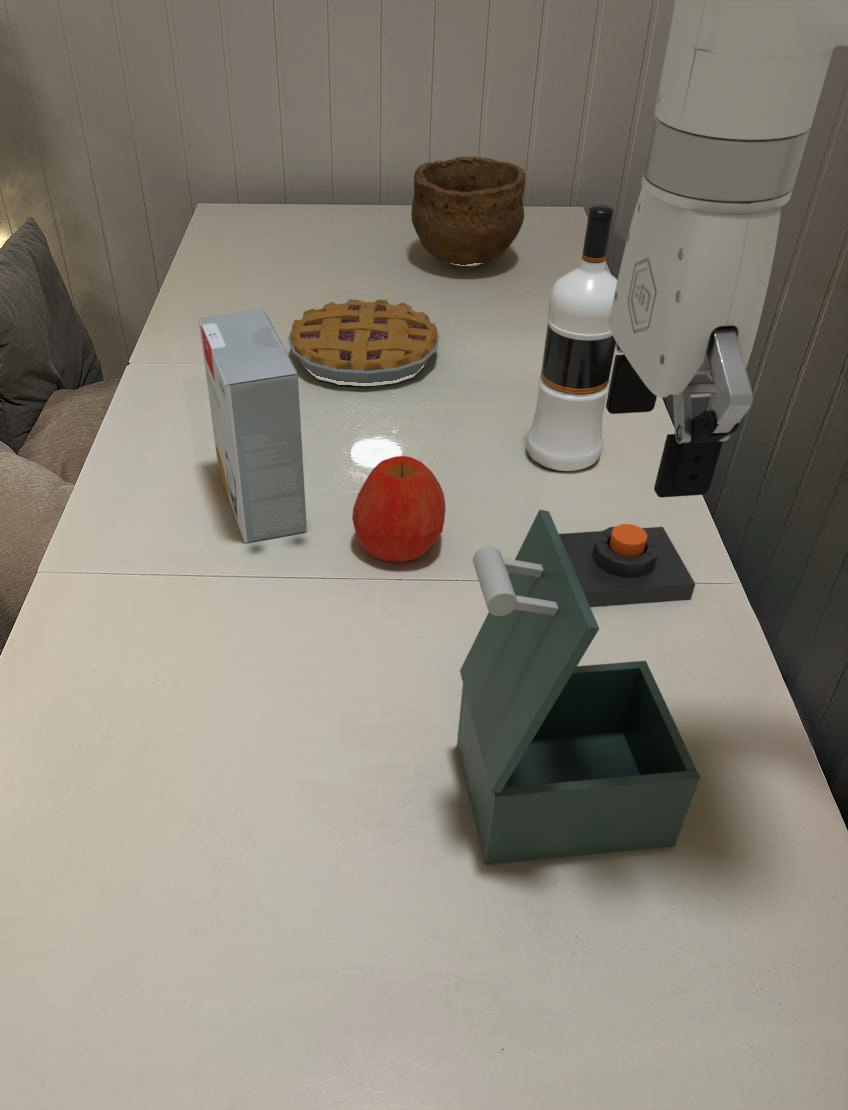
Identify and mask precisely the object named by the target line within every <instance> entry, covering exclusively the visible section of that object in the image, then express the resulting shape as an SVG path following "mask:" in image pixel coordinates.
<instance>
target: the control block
mask: <svg viewBox="0 0 848 1110" xmlns="http://www.w3.org/2000/svg"><path fill="white" fill-rule="evenodd" d="M615 527H616V526H609V527H607V528H605V529H604V530H603V529H602V530H596V531H595V530H594V531H581V532H580V531H579V532H566V533H559V536H560V538H561V540H562V543H563V545H564V547H565V550H566V552H567V554H568V557H569V559H570V561H571V564H572V566H573V568H574V571H575V573H576V575H577V578H578V580H579V582H580V585H581V587H582V589H583V592H584V594H585V596H586V599H587V601H588V603H589V606H590V608H601V607H611V606H612V607H613V606H627V605H638V604H639V605H640V604H654V603H666V602H676V601H677V602H680V601H691V600H692V597H693V594H694V590H695V587H696V583H695V580H694V578H693V577H692V575H691V573H690V572H689V570H688V568H687V566H686V565H685V563H684V561H683V559H682V558H681V555H680V554H679V552H678V551H677V549H676V547H675V545H674V543H673V542H672V539H671V538H670V537H669V535H668V533H667V532H666V529H665V528H664V526H653V527H652V526H651V527H641V528H642V529H643V530H644V531H645V532H646V533H647V541H646V545H645V549H644V552H643V553H642V554H641V555H640V556H638V557H625V556H621V555H617V554H616V553H614V552H613V551H611V549H610V547H609V543H610V539H611V534H612V530H613V529H614V528H615Z"/></svg>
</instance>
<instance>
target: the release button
mask: <svg viewBox="0 0 848 1110" xmlns="http://www.w3.org/2000/svg"><path fill="white" fill-rule="evenodd" d="M614 527H615V528H614V529H613V530H612V534H611V539H610V543H609V547H610V549H611V551H613V552H614V553H616V554H617V555H621V556H625V557H638V556H640V555H641V554H642V553H643V552H644V549H645V545H646V541H647V533H646V532H645V531H644V530H643V529H642V528H643V527H640V526H639V525H635V524H631V523H622V524H618V525H616V526H614Z"/></svg>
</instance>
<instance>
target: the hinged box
mask: <svg viewBox="0 0 848 1110" xmlns="http://www.w3.org/2000/svg"><path fill="white" fill-rule="evenodd" d="M457 729H458V730H457V740H456V747H457V752H458V756H459V760H460V765H461V769H462V772H463V776H464V781H465V783H466V784H465V785H466V788H467V793H468V798H469V803H470V806H471V810H472V814H473V818H474V824H475V827H476V831H477V835H478V841H479V845H480V849H481V853H482V857H483V862H484V865H493V864H506V863H515V862H526V861H537V860H547V859H555V858H556V859H557V858H567V857H576V856H586V855H587V856H588V855H596V854H607V853H617V852H618V853H619V852H628V851H629V852H630V851H638V850H639V851H640V850H649V849H659V848H668V847H669V848H670V847H675V846H676V843H677V840H678V838H679V836H680V833H681V830H682V827H683V825H684V821H685V820H686V817H687V815H688V811H689V809H690V806H691V804H692V801H693V799H694V795H695V793H696V791H697V788H698V785H699V783H700V779H701V776H700V774H699V772H698V770H697V767H696V765H695V763H694V761H693V759H692V757H691V754H690V752H689V750H688V748H687V746H686V744H685V742H684V740H683V738H682V736H681V733H680V730H679V729H678V726H677V725H676V722H675V720H674V718H673V716H672V713H671V712H670V709H669V707H668V705H667V703H666V701H665V698H664V697H663V694H662V692H661V690H660V688H659V686H658V683H657V682H656V680H655V677H654V674H653V673H652V671H651V669H650V666H649V664H648V662H647V660H639V661H636V660H635V661H626V662H614V663H613V662H612V663H601V664H589V665H588V664H587V665H577V667H576V668H575V670H574V672H573V673H572V675H571V677H570V678H569V680H568V682H567V683H566V685H565V687H564V688H563V690H562V692H561V693H560V695H559V697H558V698H557V700H556V702H555V703H554V705H553V707H552V708H551V710H550V712H549V713H548V715H547V717H546V718H545V720H544V722H543V723H542V725H541V726H540V728H539V730H538V731H537V733H536V735H535V736H534V738H533V740H532V741H531V743H530V745H529V746H528V748H527V750H526V751H525V753H524V755H523V756H522V758H521V760H520V761H519V763H518V765H517V766H516V768H515V770H514V771H513V773H512V775H511V776H510V778H509V780H508V781H507V783H506V784H505V786H504V788H503V789H502V791H501V793H497V792H491V790H490V786H489V782H488V778H487V774H486V770H485V767H484V763H483V759H482V755H481V751H480V747H479V743H478V739H477V736H476V732H475V728H474V724H473V720H472V716H471V712H470V708H469V705H468V701H467V697H466V693H465V689H464V685H463V684H462V688H461V698H460V709H459V718H458V728H457Z"/></svg>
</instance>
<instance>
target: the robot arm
mask: <svg viewBox="0 0 848 1110" xmlns="http://www.w3.org/2000/svg"><path fill="white" fill-rule="evenodd" d="M836 47H848V0H674V5H673V12H672V17H671V23H670V29H669V33H668V39H667V45H666V48H665V54H664V60H663V65H662V69H661V75H660V79H659V80H660V81H659V85H658V92H657V97H656V102H655V109H654V114H653V117H652V123H651V129H650V134H649V140H648V145H647V151H646V154H645V155H646V156H645V161H644V166H643V173H642V178H641V183H640V184H641V190H640V193H639V196H638V199H637V202H636V205H635V208H634V211H633V215H632V219H631V222H630V225H629V230H628V234H627V237H626V241H625V246H624V250H623V254H622V258H621V264H620V267H619V271H618V276H617V285H616V289H615V294H614V299H613V303H612V308H611V313H610V321H609V322H610V329H611V333H612V335H613V337H614V339H615V340H616V346H615V351H616V353H619V354H614V359H613V364H612V369H611V375H610V380H609V385H610V386H609V391H608V393H607V396H606V401H605V408H606V411H607V412H608V413H609V414H611V415H619V414H620V415H622V414H635V413H639V414H640V413H649V412H652V411H653V410H654V409H655V407H656V403H657V398H668V397H669V396H672V407H673V423H674V433H668V434H666V438H665V442H664V445H663V449H662V454H661V458H660V462H659V465H658V466H659V467H658V470H657V475H656V480H655V483H654V486H653V490H654V493H655V494H656V496H657V497H659V498H675V497H676V498H677V497H689V496H690V497H691V496H702V495H705V494H707V493H708V492H709V491H710V488H711V484H712V481H713V478H714V474H715V471H716V467H717V464H718V460H719V457H720V454H721V450H722V447H723V443H724V442H728V441H729V439H730V438H731V435H732V434H734V433H735V432H737V431H738V429H739V426H740V425H741V423H740V422H741V421H742V420H743V418H744V417H745V415H746V414H747V413H748V411H749V410H750V409H751V407H752V406H753V402H754V395H753V390H752V387H751V383H750V380H749V379H750V378H749V374H748V372H747V366H748V363H749V360H750V357H751V354H752V351H753V349H754V344H755V341H756V338H757V333H758V330H759V326H760V321H761V318H762V312H763V309H764V306H765V302H766V301H765V300H766V296H767V292H768V288H769V284H770V278H771V273H772V268H773V263H774V258H775V252H776V247H777V242H778V235H779V229H780V221H781V215H782V209H781V207H783V206H785V205H786V204H788V203H789V201H790V200H791V197H792V193H793V190H794V186H795V184H796V180H797V176H798V173H799V169H800V166H801V162H802V159H803V155H804V152H805V148H806V145H807V142H808V138H809V135H810V132H811V127H812V125H813V121H814V117H815V114H816V111H817V107H818V104H819V100H820V97H821V94H822V90H823V88H824V83H825V79H826V76H827V73H828V69H829V65H830V62H831V59H832V56H833V52H834V49H835V48H836ZM621 353H622V354H621ZM699 375H700V376H701V375H702V376H703V375H706V376H707V377H708V378H709V380H710V382H708V381H707V382H692V380H693V379H694V378H695V376H699ZM691 382H692V383H691ZM694 398H710V407H711V408H710V410H704V411H702V412H701V413H700V414H698V415H696V416H695V417H693V413H692V399H694Z"/></svg>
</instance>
